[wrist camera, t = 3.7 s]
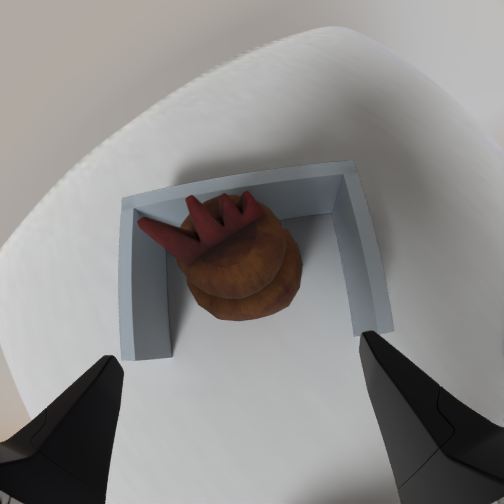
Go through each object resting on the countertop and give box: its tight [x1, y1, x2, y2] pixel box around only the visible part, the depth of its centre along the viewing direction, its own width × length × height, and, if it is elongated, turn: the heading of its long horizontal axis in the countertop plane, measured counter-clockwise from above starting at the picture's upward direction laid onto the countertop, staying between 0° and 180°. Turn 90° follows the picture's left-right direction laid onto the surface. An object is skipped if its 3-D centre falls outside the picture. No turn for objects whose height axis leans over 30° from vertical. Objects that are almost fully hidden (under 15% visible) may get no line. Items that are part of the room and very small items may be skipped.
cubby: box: [118, 160, 394, 361], centre depth 20 cm, size 11×16×6 cm
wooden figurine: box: [137, 190, 303, 321], centre depth 15 cm, size 7×6×15 cm
